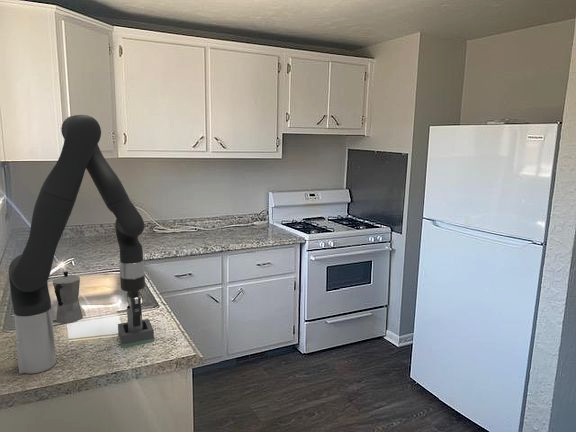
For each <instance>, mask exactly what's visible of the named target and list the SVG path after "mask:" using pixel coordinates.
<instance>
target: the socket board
mask: <svg viewBox="0 0 576 432" xmlns="http://www.w3.org/2000/svg"><path fill="white" fill-rule="evenodd" d="M142 325H143V330H141V331H136V332H130V333H128V321H127V322H121V323H117V332H118V339H119V343H120V346H121V348H128V347H135V346H139V345H143V344H149V343H153V342H155V333H154V332H155V331H154V328H153V326H152V324H151V322H150V319H149V318H145V319H142Z"/></svg>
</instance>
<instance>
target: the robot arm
mask: <svg viewBox="0 0 576 432" xmlns="http://www.w3.org/2000/svg"><path fill="white" fill-rule="evenodd" d="M60 130H61V135H62V137H63V139H64V140H63V141H64V142H63V145H62V148H61V152H60V155H59V157H58V159H57V161H56V163H55V164H54V166H53V168H52V169H51V171H50V172H49V173H48V175H47V177H46V178H45V180H44V182H43V184H42V186H41V188H40V190H39V193H38V195H37V198H36V201H35V203H34V207H33V211H32V216H31V217H32V218H31V223H30V230H29V236H28V239H27V242H26V245H25V247H24V248H23V249H24V250H23V251H22V253H21V254H19V255H17V256H16V257H15V258H13V259H12V261H11V262H10V264H9V267H8V280H9V289H10V296H11V303H12V309H13V316H14V317H13V319H14V325H15V326H14V327H15V336H16V340H15V348H16V350H15V351H16V357H17V364H18V365H17V366H18V374H19V375H20V374H39V373H42V372H45V371H47V370H50V369H51V368H53V367H54V366H55V365H56V363H57V354H56V345H55V343H56V342H55V335H54V334H55V333H54V323H53V314H52V313H53V311H52V300H51V295H50V291H49V285H48V283H49V282H48V280H49V278H50V275H51V273H52V272H51V271H52V266H53V262H54V258H55V255H56V250H57V247H58V245H59V242H60V240H61V238H62V235H63V233H64V231H65V229H66V226H67V224H68V221H69V219H70V217H71V215H72V212H73V208H74V206H75V203H76V200H77V198H78V193H80V189H81V186H82V185H81V184H82V183H83V179H84V176H85V172H86V170H87V172H88V174H89V176H90V177H91V179H92V182H93V183H94V185H95V188H96V189H97V191H98V193H99V194H100V196H101V199H102V201H103V202H104V204H105V206H106V208H107V210H109V211H110V212H111V213H112V214H113V215H114V216H115V223H114V230H115V234H116V236H115V237H116V238H117V243H118V247H119V278H120V279H119V281H120V282H119V283H120V289H121V290H122V291H124V292H126V301H127V303H128V305H127V306H130V309H131V310H132V316H133V326H134V327H137V326H140V325H141V323H140V315H141V314H142V315H143V311H142V312H141V307H142V296H141V293H140V290H143V289H144V288H145V287H146V275H145V274H146V273H145V272H146V271H145V264H144V250H143V245H142V244H141V242H140V240H139V236H141V235H142V234H143V232H144V230H145V221H144V219H143V217H142V215H141V214H140V212H139V210H138V209H137V208H136V207H135V205H134V204H133V202H132V201H131V199H130V198H129V195H128V193H127V191H126V189H125V187H124V185H123V183H122V181H121V180H120V178H119V177H118V175H117V174H116V172H115V171H114V170H113V168H112V167H111V166H110V164H109V163H108V161H107V160H106V158H105V157H104V155H103V153H102V151H101V148H100V146H99V142H100V140H101V136H102V128H101V126H100V124H99V122H98V120H97V119H95V118H94V117H93V116H90V115H87V114H76V115H70V116H68V117H66V119H64V120H63V122H62V124H61V128H60ZM135 309H138V312H135Z"/></svg>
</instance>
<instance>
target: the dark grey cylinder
mask: <svg viewBox="0 0 576 432" xmlns="http://www.w3.org/2000/svg"><path fill="white" fill-rule="evenodd" d="M135 312H138V309H135ZM141 312H142V314H141V315H140V323H141V325H140V326H137V327H134V326H133V316H132V310H131V309H130V306H129V305H127V306H126V313H127V318H126V319H127V322H128V333H130V332H136V331H141V330H143V325H142V320H143V310H142V306H141Z"/></svg>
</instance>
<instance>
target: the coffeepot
mask: <svg viewBox="0 0 576 432" xmlns="http://www.w3.org/2000/svg"><path fill="white" fill-rule="evenodd" d="M80 281H81V278H80V276H79V275H76V274H69V271H68V270H67V271H63V275H62V276H59V277H57V278H54V279H52V285H53V289H54V294H55V297H56V300H57V310H56V318H55V319H56V320H55V321H56V323H58V324H71V323H72V324H73V323H74V322H75V323H76V322H78V321H80V320H81V319H83V312H82V309H81V305H80V300H79V296H80V284H81V282H80Z"/></svg>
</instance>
